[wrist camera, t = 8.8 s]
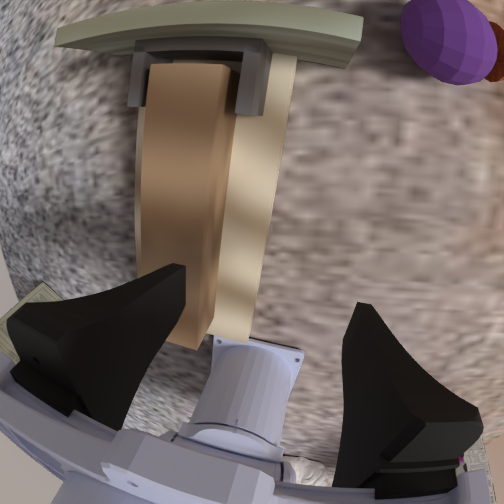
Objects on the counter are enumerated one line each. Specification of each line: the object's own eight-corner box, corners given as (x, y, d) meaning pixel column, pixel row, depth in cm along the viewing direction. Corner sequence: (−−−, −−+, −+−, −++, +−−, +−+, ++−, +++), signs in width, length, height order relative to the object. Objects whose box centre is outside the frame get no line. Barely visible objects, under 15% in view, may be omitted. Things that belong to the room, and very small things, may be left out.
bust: (250, 446, 38) (240, 507, 33) (240, 455, 32) (229, 523, 27) (330, 453, 36) (318, 514, 31) (334, 463, 29) (320, 533, 24)
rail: (213, 317, 24) (196, 350, 20) (168, 304, 24) (147, 334, 21) (242, 74, 16) (222, 64, 12) (182, 71, 16) (150, 64, 13)
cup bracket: (283, 344, 25) (270, 409, 19) (118, 297, 27) (77, 342, 21) (347, 51, 15) (363, 17, 8) (122, 41, 17) (57, 28, 10)
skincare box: (41, 301, 31) (-20, 357, 20) (43, 279, 29) (-26, 338, 18) (76, 333, 32) (18, 398, 21) (81, 313, 30) (14, 383, 19)
